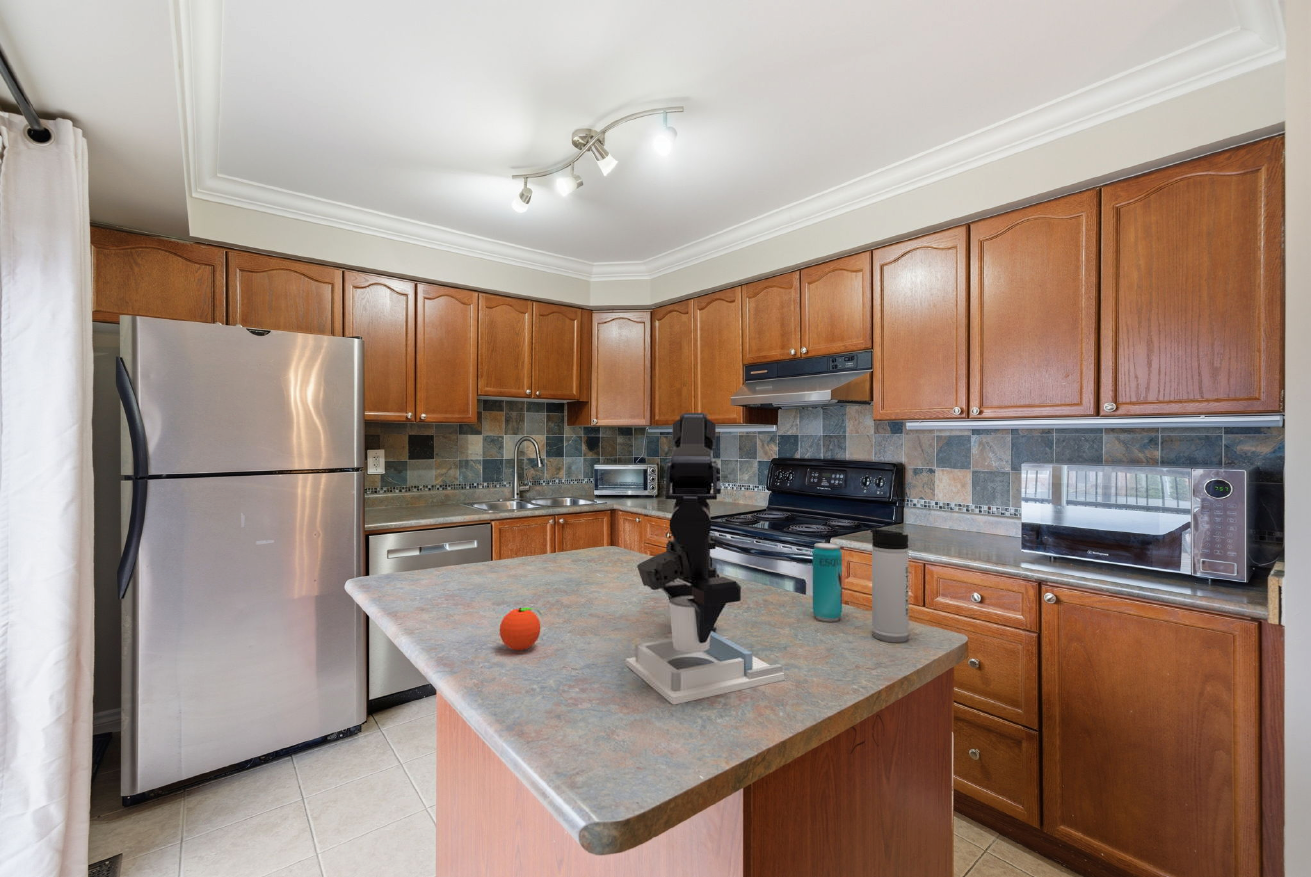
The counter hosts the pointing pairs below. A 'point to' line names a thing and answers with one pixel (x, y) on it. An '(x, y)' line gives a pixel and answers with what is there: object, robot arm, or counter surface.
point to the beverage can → (827, 582)
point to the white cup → (685, 626)
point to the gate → (729, 651)
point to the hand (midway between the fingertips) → (691, 636)
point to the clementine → (520, 628)
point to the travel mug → (890, 586)
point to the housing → (696, 672)
